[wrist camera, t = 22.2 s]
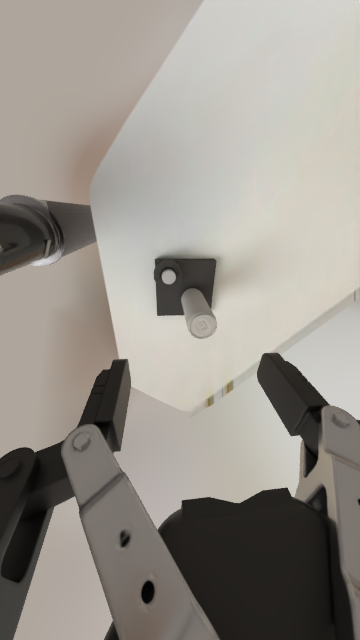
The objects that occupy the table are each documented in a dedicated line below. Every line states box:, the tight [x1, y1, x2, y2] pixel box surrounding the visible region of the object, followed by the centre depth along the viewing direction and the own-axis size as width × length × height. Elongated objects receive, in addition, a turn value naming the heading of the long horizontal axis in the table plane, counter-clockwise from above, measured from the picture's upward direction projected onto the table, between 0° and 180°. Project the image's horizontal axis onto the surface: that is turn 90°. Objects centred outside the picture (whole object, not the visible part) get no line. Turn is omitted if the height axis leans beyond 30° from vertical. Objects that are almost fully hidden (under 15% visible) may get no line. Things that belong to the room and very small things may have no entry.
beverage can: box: [181, 288, 217, 339], centre depth 35 cm, size 5×5×12 cm
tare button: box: [162, 269, 176, 284], centre depth 35 cm, size 3×3×2 cm
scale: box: [154, 259, 216, 316], centre depth 39 cm, size 12×12×3 cm
